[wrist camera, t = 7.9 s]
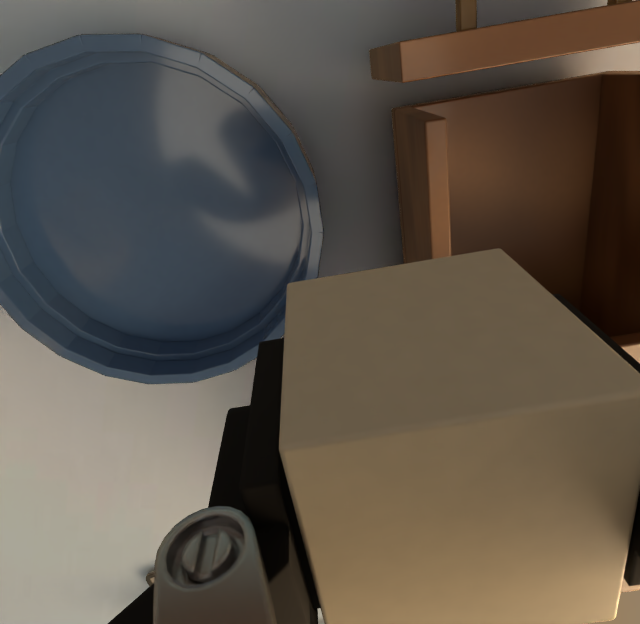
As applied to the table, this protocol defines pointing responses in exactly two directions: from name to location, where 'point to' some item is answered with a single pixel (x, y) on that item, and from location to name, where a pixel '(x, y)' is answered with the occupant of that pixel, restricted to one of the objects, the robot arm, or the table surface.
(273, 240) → the plate
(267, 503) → the robot arm
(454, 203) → the drawer
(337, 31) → the table surface
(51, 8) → the table surface
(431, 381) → the block
